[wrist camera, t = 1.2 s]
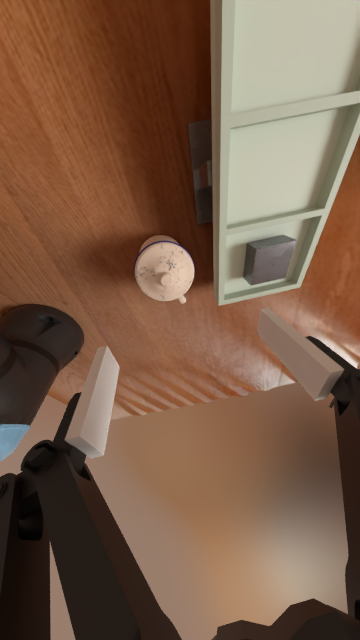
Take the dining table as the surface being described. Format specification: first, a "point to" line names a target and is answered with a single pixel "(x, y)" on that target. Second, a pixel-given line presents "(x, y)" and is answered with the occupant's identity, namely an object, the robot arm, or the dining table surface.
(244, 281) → the divided tray
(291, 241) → the block
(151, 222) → the dining table surface
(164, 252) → the teacup with lid
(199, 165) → the fulcrum
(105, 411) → the robot arm
